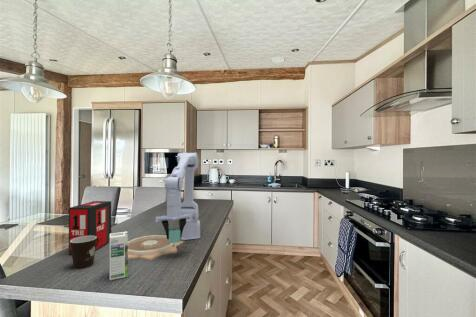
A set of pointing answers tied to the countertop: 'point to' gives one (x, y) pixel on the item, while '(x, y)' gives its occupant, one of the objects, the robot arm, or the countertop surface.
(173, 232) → the bead
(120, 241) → the syrup box
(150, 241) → the ring tray
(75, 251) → the coffee mug
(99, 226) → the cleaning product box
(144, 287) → the countertop surface
